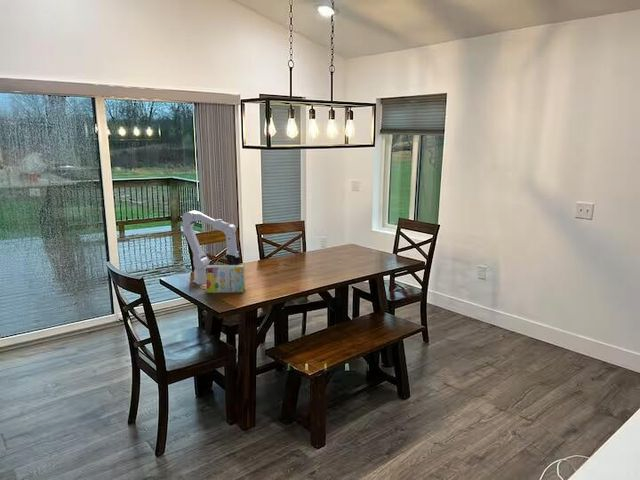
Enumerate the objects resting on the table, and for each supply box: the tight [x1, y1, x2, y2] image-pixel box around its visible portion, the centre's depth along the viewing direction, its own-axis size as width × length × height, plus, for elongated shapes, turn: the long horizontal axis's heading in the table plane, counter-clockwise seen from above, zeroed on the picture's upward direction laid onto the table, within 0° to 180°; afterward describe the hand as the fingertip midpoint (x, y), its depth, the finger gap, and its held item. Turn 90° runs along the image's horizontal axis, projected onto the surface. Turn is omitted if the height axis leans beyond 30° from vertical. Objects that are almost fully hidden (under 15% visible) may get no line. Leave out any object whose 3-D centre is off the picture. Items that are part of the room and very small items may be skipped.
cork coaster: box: [199, 284, 207, 290], centre depth 272 cm, size 9×9×1 cm
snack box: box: [206, 264, 246, 294], centre depth 263 cm, size 21×6×15 cm, turn 92°
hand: (233, 267), depth 274 cm, fingers open, 7 cm apart
